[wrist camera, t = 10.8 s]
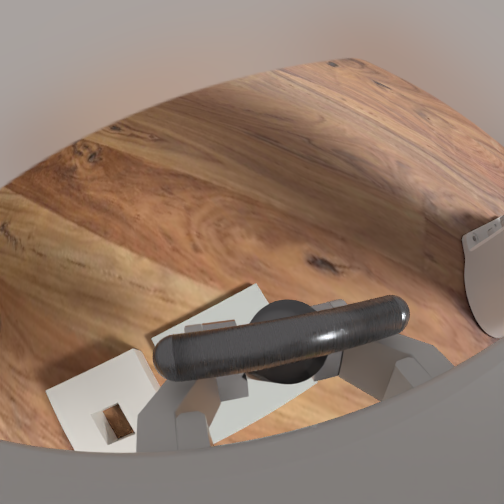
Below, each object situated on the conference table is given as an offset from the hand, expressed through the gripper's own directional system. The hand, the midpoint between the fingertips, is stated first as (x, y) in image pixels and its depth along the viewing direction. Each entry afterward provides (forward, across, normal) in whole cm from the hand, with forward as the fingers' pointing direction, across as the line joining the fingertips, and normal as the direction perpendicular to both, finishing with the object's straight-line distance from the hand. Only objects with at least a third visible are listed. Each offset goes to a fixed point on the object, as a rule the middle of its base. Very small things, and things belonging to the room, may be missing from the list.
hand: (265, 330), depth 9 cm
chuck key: (+5, 0, +6) cm, 7 cm away
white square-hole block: (+10, +11, +16) cm, 22 cm away
